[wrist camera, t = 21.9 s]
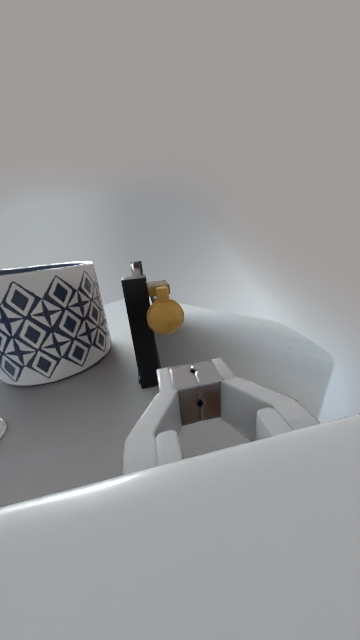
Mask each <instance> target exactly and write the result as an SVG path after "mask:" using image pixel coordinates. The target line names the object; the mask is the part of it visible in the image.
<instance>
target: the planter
mask: <svg viewBox="0 0 360 640" xmlns="http://www.w3.org/2000/svg"><path fill="white" fill-rule="evenodd" d="M110 347H111V338H110V334H109V329H108V325H107V321H106V316H105V312H104V307H103V303H102V299H101V295H100V291H99V287H98V282H97V278H96V273H95V269H94V265H93V263H92V262H74V263H63V264H52V265H42V266H33V267H24V268H15V269H7V270H0V378H1V379H2V380H3V381H4V382H6V383H8V384H11V385H18V386H30V385H39V384H45V383H50V382H54V381H57V380H61V379H64V378H67V377H69V376H72V375H74V374H76V373H79V372H81V371H83V370H85V369H87V368H88V367H90V366H92V365H93V364H95V363H96V362H97V361H99V360H100V359H101V358H102V357H103V356H104V355H105V354H106V353H107V352H108V351H109V349H110Z"/></svg>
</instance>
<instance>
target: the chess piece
mask: <svg viewBox="0 0 360 640" xmlns="http://www.w3.org/2000/svg"><path fill="white" fill-rule="evenodd" d="M6 428H7V424H6V422H5V421H3V419H2V418H1V417H0V439H1V437H2V436H3V435H4V433H5V431H6Z"/></svg>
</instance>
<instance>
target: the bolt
mask: <svg viewBox="0 0 360 640" xmlns="http://www.w3.org/2000/svg"><path fill="white" fill-rule="evenodd" d="M156 292H157V296H150V297H151V301H152V305H151V306H150V307H149V309H148V312H147V322H148V325H149V327H150V328H151V329H152V330H153V331H154V332H156V333H158V334H162V335H168V334H172V333H174V332H176V331H177V330H178V329H179V328H180V327H181V325H182V323H183V321H184V312H183V309H182V308H181V306H180V305H179V304H178V303H177V302H176V301H174V300H172V299H169V290H168V287H167V286H161V287H157V288H156Z"/></svg>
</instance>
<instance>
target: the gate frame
mask: <svg viewBox="0 0 360 640" xmlns="http://www.w3.org/2000/svg"><path fill="white" fill-rule="evenodd" d="M135 262H138V263H139V264H140V269H141V272H142V275H138V276H129V277H123V279H122V281H121V282H122V287H123V293H124V298H125V303H126V308H127V314H128V319H129V324H130V329H131V335H132V340H133V345H134V350H135V356H136V361H137V366H138V380H139V384H141V387H142V389H143V388H148V387H153V386H158V385H159V384H158V378H157V369H161V366H160V361H159V356H158V351H157V346H156V341H155V335H154V331H153V330H152V329H151V328H150V327H149V325H148V322H147V312H148V309H149V307H150V302H149V296H157V292H156V288H157V287H161V286H167V287H168V290H169V294H170V287H169V284H168V283H167V282H166V281H165V280H163V281H154V282H146V276H145V275H143V271H142V264H141V261H135ZM133 263H134V262H130V265H131V270H132V272H133V268H132V264H133Z"/></svg>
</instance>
